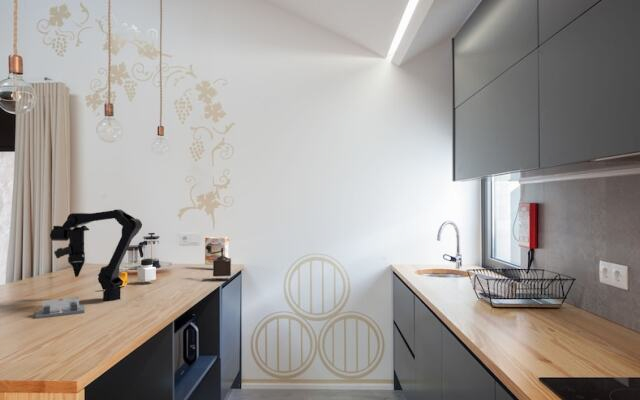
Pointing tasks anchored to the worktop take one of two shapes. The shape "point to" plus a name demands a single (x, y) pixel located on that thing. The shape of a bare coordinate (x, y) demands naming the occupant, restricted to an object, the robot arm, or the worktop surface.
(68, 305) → the shiny metal block
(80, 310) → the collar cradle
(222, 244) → the coffeecake box
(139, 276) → the medicine bottle
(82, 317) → the worktop surface
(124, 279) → the pipe clamp
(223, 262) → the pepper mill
